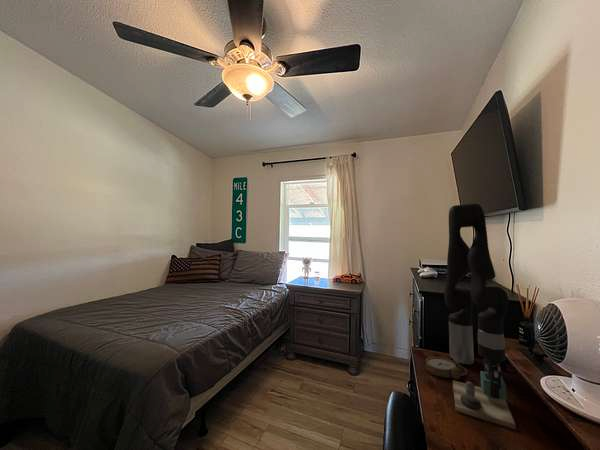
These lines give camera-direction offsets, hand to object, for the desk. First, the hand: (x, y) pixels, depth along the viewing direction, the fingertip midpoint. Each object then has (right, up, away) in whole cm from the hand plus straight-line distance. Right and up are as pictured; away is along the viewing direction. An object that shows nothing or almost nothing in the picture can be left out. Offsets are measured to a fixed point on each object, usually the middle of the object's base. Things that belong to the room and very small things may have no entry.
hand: (492, 391), depth 82 cm
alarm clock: (-6, -4, +17) cm, 19 cm away
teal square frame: (0, 0, 0) cm, 0 cm away
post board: (-6, -3, -2) cm, 7 cm away
